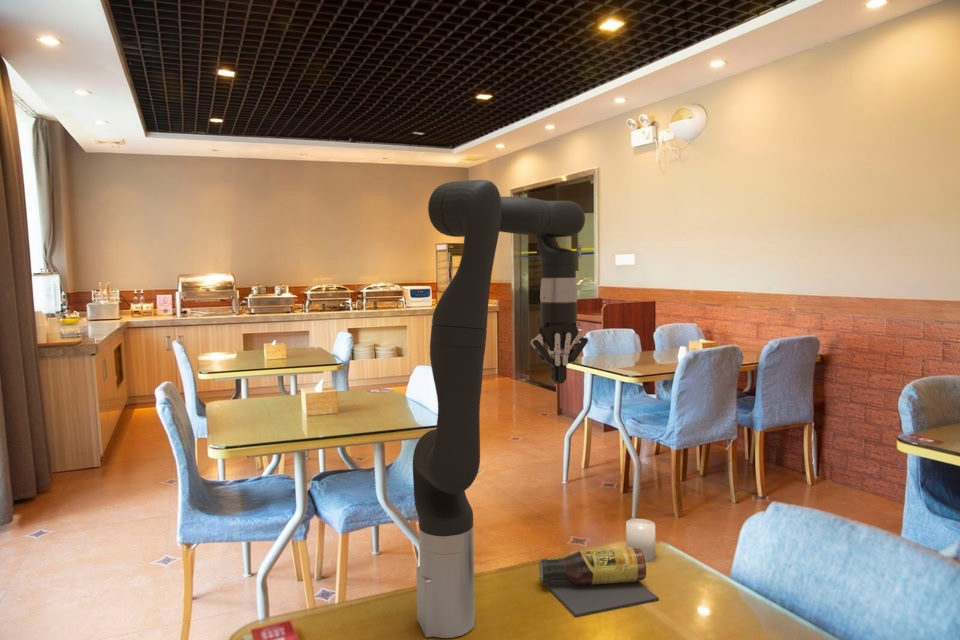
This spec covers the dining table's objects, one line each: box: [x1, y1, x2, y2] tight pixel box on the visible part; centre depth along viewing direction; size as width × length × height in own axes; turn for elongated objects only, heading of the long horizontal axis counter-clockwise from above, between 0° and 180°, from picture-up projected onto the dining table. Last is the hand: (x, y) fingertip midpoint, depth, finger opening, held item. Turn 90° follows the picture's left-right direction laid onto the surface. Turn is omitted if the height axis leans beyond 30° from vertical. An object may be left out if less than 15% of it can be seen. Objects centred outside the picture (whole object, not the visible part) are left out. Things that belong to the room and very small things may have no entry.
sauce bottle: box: [538, 546, 647, 585], centre depth 125 cm, size 6×6×20 cm
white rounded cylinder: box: [625, 518, 656, 563], centre depth 138 cm, size 6×6×7 cm
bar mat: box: [539, 576, 660, 618], centre depth 124 cm, size 17×15×1 cm
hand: (558, 383), depth 136 cm, fingers closed
